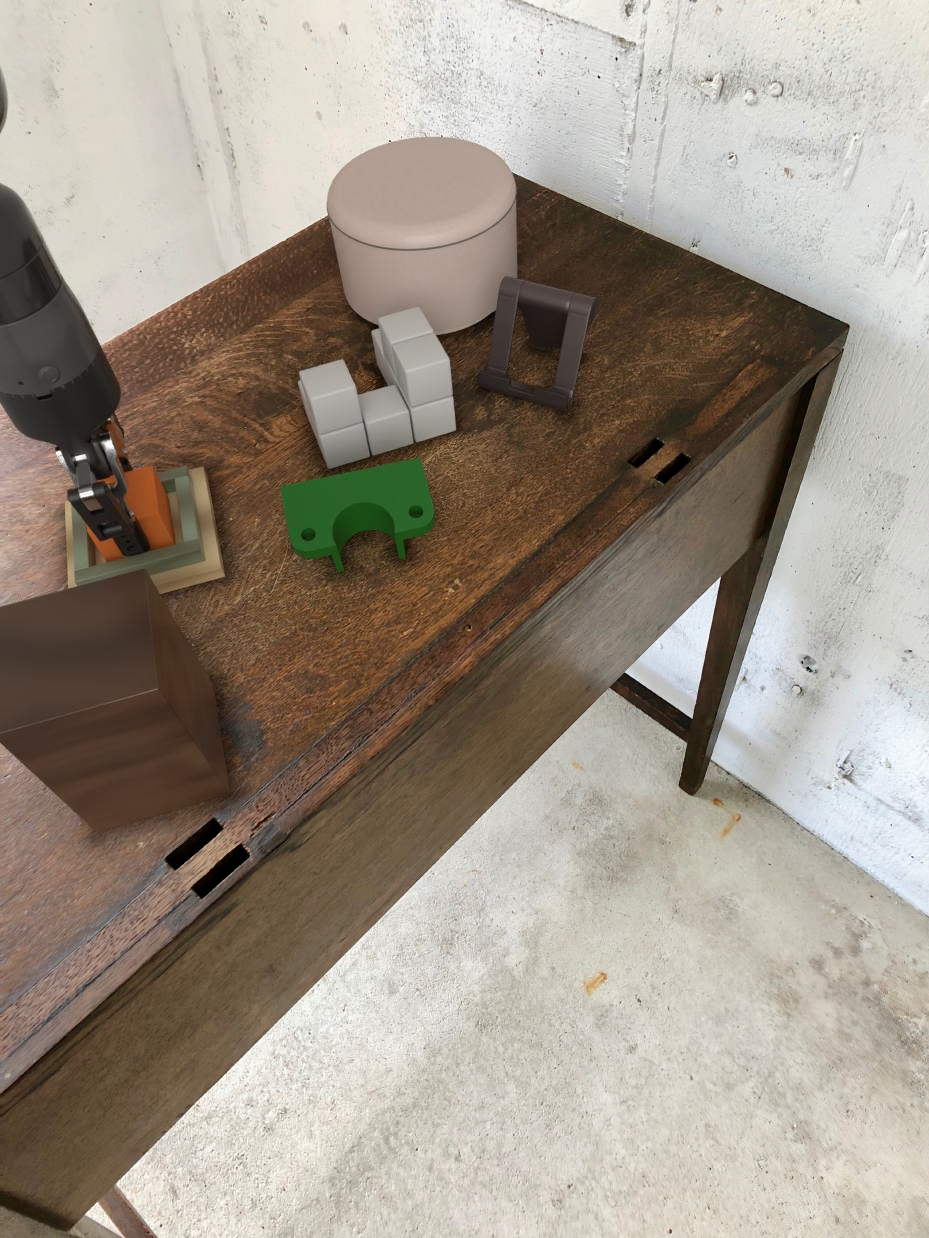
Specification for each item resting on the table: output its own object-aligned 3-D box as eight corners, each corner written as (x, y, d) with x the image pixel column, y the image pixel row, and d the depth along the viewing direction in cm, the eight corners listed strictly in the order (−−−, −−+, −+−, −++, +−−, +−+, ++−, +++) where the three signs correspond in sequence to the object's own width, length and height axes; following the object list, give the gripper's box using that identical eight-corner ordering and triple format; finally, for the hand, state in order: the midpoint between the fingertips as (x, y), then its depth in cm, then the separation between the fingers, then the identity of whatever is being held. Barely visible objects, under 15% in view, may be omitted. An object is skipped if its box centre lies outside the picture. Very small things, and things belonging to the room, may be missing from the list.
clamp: (335, 596, 74) (272, 563, 66) (323, 534, 76) (261, 495, 68) (462, 543, 70) (411, 502, 62) (445, 480, 73) (395, 432, 64)
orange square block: (175, 546, 71) (158, 512, 67) (107, 564, 70) (86, 531, 67) (169, 499, 74) (152, 464, 71) (103, 515, 73) (83, 482, 70)
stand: (230, 794, 59) (158, 688, 48) (97, 833, 58) (-9, 735, 47) (214, 685, 64) (145, 567, 53) (91, 720, 63) (-6, 607, 52)
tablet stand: (477, 391, 81) (472, 314, 74) (513, 341, 85) (511, 263, 78) (564, 417, 79) (567, 339, 72) (598, 364, 82) (604, 285, 76)
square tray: (225, 576, 70) (215, 555, 68) (75, 617, 69) (60, 596, 67) (207, 475, 77) (197, 453, 75) (70, 510, 76) (56, 488, 74)
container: (452, 221, 98) (443, 112, 88) (554, 295, 89) (556, 182, 79) (313, 285, 93) (288, 176, 83) (407, 370, 84) (391, 259, 74)
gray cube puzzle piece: (414, 353, 85) (405, 280, 79) (457, 431, 78) (450, 358, 72) (295, 387, 83) (275, 315, 77) (328, 470, 77) (309, 399, 70)
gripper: (-17, 303, 61) (84, 475, 75) (-23, 438, 53) (92, 603, 67) (91, 279, 62) (172, 453, 76) (102, 408, 54) (190, 577, 68)
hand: (134, 523), depth 71 cm, fingers closed on orange square block, 5 cm apart
